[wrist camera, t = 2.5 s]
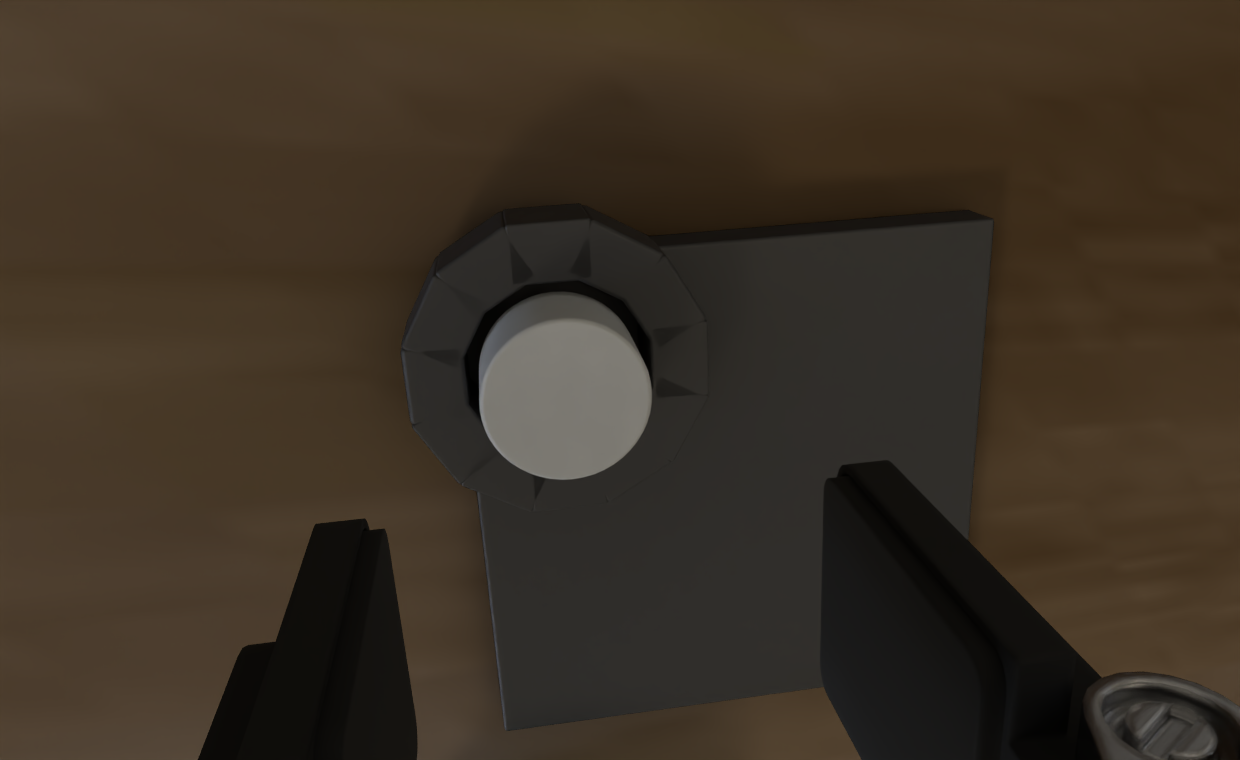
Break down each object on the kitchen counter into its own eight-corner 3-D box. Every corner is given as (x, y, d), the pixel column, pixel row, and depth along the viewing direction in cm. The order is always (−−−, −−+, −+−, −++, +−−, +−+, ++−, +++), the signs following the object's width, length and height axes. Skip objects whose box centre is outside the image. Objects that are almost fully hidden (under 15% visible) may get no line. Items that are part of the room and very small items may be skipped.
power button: (487, 446, 20) (488, 490, 18) (470, 297, 19) (470, 327, 17) (639, 430, 20) (656, 472, 18) (632, 283, 19) (649, 311, 17)
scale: (463, 707, 25) (461, 791, 22) (395, 207, 21) (383, 234, 18) (938, 642, 26) (993, 714, 24) (972, 163, 22) (1045, 181, 19)
